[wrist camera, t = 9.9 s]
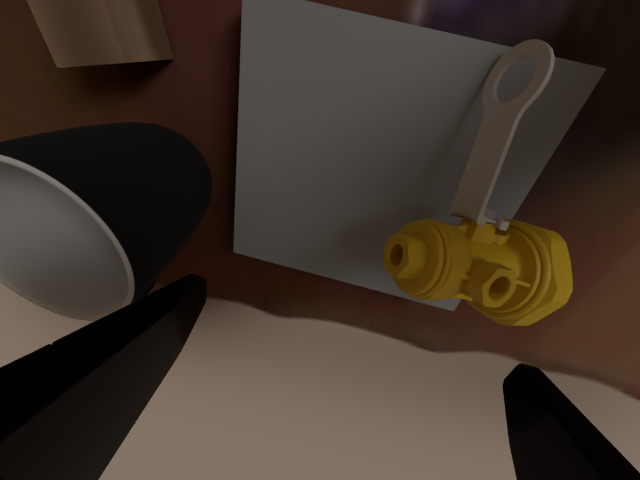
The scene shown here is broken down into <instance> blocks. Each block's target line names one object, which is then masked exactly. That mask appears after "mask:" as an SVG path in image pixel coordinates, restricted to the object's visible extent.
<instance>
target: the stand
mask: <svg viewBox="0 0 640 480" xmlns="http://www.w3.org/2000/svg"><path fill="white" fill-rule="evenodd" d="M512 48H513V47H509V46H505V45H500V44H496V43H491V42H487V41H482V40H478V39H474V38H469V37H465V36H460V35H456V34H451V33H447V32H442V31H438V30H434V29H429V28H425V27H420V26H416V25H411V24H407V23H402V22H398V21H394V20H389V19H385V18H380V17H376V16H371V15H367V14H363V13H358V12H354V11H349V10H345V9H340V8H336V7H331V6H327V5H323V4H318V3H314V2H309V1H305V0H242V20H241V49H240V77H239V105H238V133H237V162H236V190H235V218H234V246H233V252H234V253H238V254H241V255H245V256H249V257H253V258H256V259H260V260H264V261H268V262H271V263H275V264H279V265H283V266H286V267H290V268H294V269H297V270H301V271H305V272H309V273H312V274H316V275H320V276H324V277H327V278H331V279H335V280H339V281H342V282H346V283H350V284H354V285H357V286H361V287H365V288H369V289H372V290H376V291H380V292H384V293H387V294H391V295H395V296H399V297H402V298H406V299H410V300H414V301H417V302H421V303H425V304H428V305H432V306H436V307H440V308H443V309H447V310H451V311H454V310H455V309H456V307H457V305H458V304H459V302H460V301H461V299H460V298H455V299H449V298H447V299H443V300H437V301H428V300H418V299H415V298H414V297H412V296H410V295H409V294H407V293H405V292H403V291H402V290H401V289H399V287H398V286H397V285H396V283H395V281H394V279H393V276H392V275H391V274H389V273H388V272H387V271H386V270H385V267H384V260H383V256H384V248H385V246H386V244H387V242H388V240H389V239H390V238H391V237H392V236H393V235H394V234H395V233H399V232H400V231H401V229H402V228H403V227H405V226H406V225H407V224H409V223H411V222H413V221H418V220H420V219H424V218H429V219H434V220H438V221H442V222H445V223H448V224H451V225H455V226H459V225H460V223H461V221H462V219H463V218H460V217H455V216H451V214H450V210H451V207H452V204H453V202H454V199H455V196H456V193H457V190H458V187H459V185H460V182H461V179H462V176H463V173H464V171H465V168H466V165H467V162H468V159H469V157H470V154H471V151H472V148H473V145H474V142H475V140H476V137H477V134H478V131H479V128H480V126H481V123H482V119H483V116H484V107H483V100H482V95H483V88H484V85H485V83H486V80H487V78H488V76H489V74H490V72H491V70H492V69H493V67H494V66H495V65H496V63H497V62H498V61H499V59H500V58H501V57H502V56H503V55H504V54H505V53H506V52H507V51H509V50H510V49H512ZM535 68H536V62H535V59H534V57H532V56H528V57H523V58H521V59H519V60H517V61H516V62H514V63H513V64H512V65H510V66H509V68H508V69H507V70H506V71H505V72H504V73H503V75H502V77H501V79H500V81H499V83H498V86H497V98H498V100H499V102H501V103H502V102H509V101H511V100H513V99H515V98H516V97H518V96H519V95H520V94H521V93H522V92H524V90H525V89H526V88H527V86H528V85H529V84H530V83H531V80H532V78H533V76H534V74H535ZM606 69H607V68H602V67H598V66H593V65H589V64H585V63H580V62H576V61H571V60H567V59H562V58H558V57H555V61H554V69H553V71H552V74H551V77H550V79H549V81H548V83H547V85H546V86H545V88H544V89H543V91H542V92H541V94H540V95H539V96H538V97H537V98H536V99H535V100H534V101H533V102H532V103H531V105H530V106H529V107H528V108H527V109H526V110H525V112H524V113H523V115H522V116H521V118H520V121H519V123H518V125H517V128H516V131H515V133H514V136H513V138H512V141H511V144H510V146H509V149H508V151H507V154H506V157H505V159H504V162H503V164H502V167H501V170H500V172H499V175H498V177H497V180H496V183H495V185H494V188H493V190H492V193H491V196H490V198H489V201H488V203H487V206H486V207H487V208H491V209H495V210H498V211H499V212H498V215H497V216H499V217H504V218H508V219H512V218H513V216H514V215H515V213H516V212H517V210H518V208H519V207H520V205H521V204H522V202H523V201H524V199H525V197H526V196H527V194H528V193H529V191H530V189H531V188H532V186H533V185H534V183H535V181H536V180H537V178H538V177H539V175H540V174H541V172H542V170H543V169H544V167H545V166H546V164H547V162H548V161H549V159H550V158H551V156H552V154H553V153H554V151H555V150H556V148H557V147H558V145H559V143H560V142H561V140H562V139H563V137H564V135H565V134H566V132H567V131H568V129H569V127H570V126H571V124H572V123H573V121H574V120H575V118H576V116H577V115H578V113H579V112H580V110H581V108H582V107H583V105H584V104H585V102H586V100H587V99H588V97H589V96H590V94H591V93H592V91H593V89H594V88H595V86H596V85H597V83H598V81H599V80H600V78H601V77H602V75H603V73H604V72H605V70H606Z"/></svg>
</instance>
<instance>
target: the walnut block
mask: <svg viewBox="0 0 640 480" xmlns="http://www.w3.org/2000/svg"><path fill="white" fill-rule="evenodd" d="M27 2H28V4H29V6H30V9H31V11H32V13H33V15H34V17H35V20H36V22H37V24H38V26H39V29H40V31H41V33H42V35H43V37H44V40H45V42H46V44H47V46H48V49H49V51H50V53H51V55H52V57H53V60H54V62H55V64H56V66H57V68H63V67H77V66H91V65H104V64H118V63H131V62H144V61H157V60H169V59H173V55H172V52H171V48H170V44H169V41H168V37H167V33H166V30H165V26H164V22H163V19H162V15H161V11H160V8H159V4H158V0H27Z"/></svg>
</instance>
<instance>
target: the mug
mask: <svg viewBox="0 0 640 480" xmlns="http://www.w3.org/2000/svg"><path fill="white" fill-rule="evenodd" d="M211 192H212V180H211V175H210V171H209V168H208V165H207V163H206V161H205V159H204V158H203V156H202V155H201V153H200V152H199V151H198V149H197V148H196V147H195V146H194V145H193V144H192V143H191V142H190V141H189V140H188V139H186V138H185V137H184V136H182V135H181V134H179V133H177V132H175V131H173V130H171V129H169V128H166V127H163V126H159V125H156V124H150V123H137V122H128V123H110V124H100V125H91V126H84V127H77V128H70V129H64V130H58V131H53V132H47V133H41V134H36V135H31V136H26V137H21V138H16V139H12V140H7V141H3V142H0V282H2V283H3V284H4V285H6V286H7V287H8V288H10V289H11V290H13V291H14V292H16V293H17V294H19V295H20V296H22V297H24V298H25V299H27V300H29V301H31V302H33V303H35V304H36V305H38V306H40V307H43V308H45V309H47V310H49V311H52V312H54V313H57V314H60V315H63V316H67V317H70V318H75V319H80V320H88V321H96V320H98V319H100V318H102V317H104V316H106V315H108V314H110V313H112V312H114V311H116V310H119V309H121V308H123V307H125V306H127V305H129V304H131V303H133V302H135V301H137V300H139V299H141V298H143V297H145V296H147V294H148V293H149V292H150V291H151V289H152V288H153V286H154V285H155V283H156V281H157V279H158V277H159V276H160V275H161V273H162V272H163V271H164V270H165V269H166V268H167V266H168V265H169V264H170V263H171V261H172V260H173V259H174V258H175V256H176V255H177V254H178V253H179V251H180V250H181V249H182V247H183V246H184V245H185V243H186V242H187V241H188V239H189V238H190V236H191V235H192V234H193V232H194V231H195V229H196V228H197V226H198V225H199V223H200V221H201V219H202V218H203V216H204V214H205V212H206V210H207V208H208V205H209V202H210V198H211Z"/></svg>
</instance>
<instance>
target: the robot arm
mask: <svg viewBox="0 0 640 480" xmlns="http://www.w3.org/2000/svg"><path fill="white" fill-rule="evenodd" d="M205 302H206V279H205V278H204V277H203V276H199V275H195V274H189V275H187V276H185V277H183V278H181V279H179V280H177V281H175V282H173V283H171V284H169V285H167V286H165V287H163V288H161V289H159V290H157V291H155V292H153V293H151V294H149V295H147V296H145V297H143V298H141V299H139V300H137V301H135V302H133V303H131V304H129V305H127V306H125V307H123V308H121V309H119V310H116V311H114V312H112V313H110V314H108V315H106V316H104V317H102V318H100V319H98V320H96V321H95V322H92V323H90V324H88V325H87V326H84V327H82V328H80V329H78V330H76V331H75V332H72V333H70V334H69V335H66V336H64V337H62V338H60V339H58V340H56V341H54V342H53V343H52V345H51V344H48V345H46V346H44V347H42V348H40V349H38V350H36V351H34V352H32V353H30V354H28V355H26V356H24V357H22V358H19V359H17V360H15V361H13V362H11V363H9V364H7V365H5V366H3V367H1V368H0V480H98V479H99V478H100V476H101V475H102V473H103V471H104V470H105V468H106V467H107V465H108V464H109V462H110V461H111V459H112V458H113V456H114V454H115V453H116V451H117V450H118V448H119V447H120V445H121V444H122V442H123V441H124V439H125V438H126V436H127V435H128V433H129V431H130V430H131V428H132V427H133V425H134V424H135V422H136V421H137V419H138V418H139V416H140V414H141V413H142V411H143V410H144V408H145V407H146V405H147V404H148V402H149V400H150V399H151V397H152V396H153V394H154V393H155V391H156V390H157V388H158V387H159V385H160V384H161V382H162V380H163V379H164V377H165V376H166V374H167V373H168V371H169V370H170V368H171V367H172V365H173V363H174V362H175V360H176V359H177V357H178V355H179V354H180V352H181V350H182V348H183V346H184V345H185V343H186V341H187V338H188V337H189V334H190V333H191V331H192V329H193V327H194V325H195V323H196V321H197V319H198V317H199V315H200V313H201V311H202V309H203V306H204V305H205ZM503 394H504V403H505V411H506V420H507V429H508V437H509V444H510V449H511V454H512V459H513V463H514V468H515V473H516V478H517V480H640V473H639V472H638V471H637V470H636V469H635V468H634V467H633V466H632V465H631V463H630V462H629V461H628V460H627V459H626V458H625V457H624V456H623V455H622V454H621V453H620V452H619V451H618V450H617V449H616V448H615V447H614V446H613V445H612V444H611V443H610V442H609V441H608V440H607V439H606V437H604V436H603V434H601V432H600V431H599V430H598V429H597V428H596V427H595V426H594V425H593V424H592V423H591V422H590V421H589V420H588V419H587V418H586V417H585V416H584V415H583V414H582V413H581V412H580V411H579V410H578V408H577V407H576V406H575V405H574V404H572V402H571V401H570V400H569V399H568V398H567V397H566V396H565V395H564V394H563V393H562V392H561V391H560V390H559V389H558V388H557V387H556V386H555V385H554V384H553V383H552V381H551V380H550V379H549V378H548V377H547V376H546V375H545V374H544V373H543V372H542V371H541V370H540V369H539V368H537V367H535V366H532V365H528V364H524V363H521V364H518V365H517V366H516V367H515V368H514V369H513V370H512V371H511V373H510V374H509V375H508V376H507V377H506V378H505V379H504V382H503Z"/></svg>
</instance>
